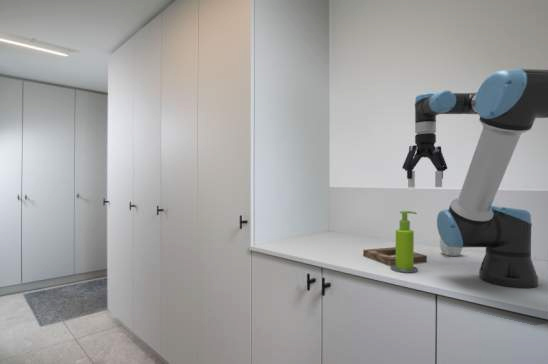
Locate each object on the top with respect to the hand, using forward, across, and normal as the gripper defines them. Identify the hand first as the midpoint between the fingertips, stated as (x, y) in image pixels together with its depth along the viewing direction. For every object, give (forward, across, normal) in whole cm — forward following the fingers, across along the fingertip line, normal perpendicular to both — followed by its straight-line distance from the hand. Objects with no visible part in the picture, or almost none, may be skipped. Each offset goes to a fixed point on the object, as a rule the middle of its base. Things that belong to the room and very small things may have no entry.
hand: (425, 187), depth 130 cm
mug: (+29, -15, -2) cm, 33 cm away
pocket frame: (+29, +11, -5) cm, 31 cm away
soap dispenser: (+28, +17, +9) cm, 34 cm away
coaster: (+29, +18, +9) cm, 35 cm away
